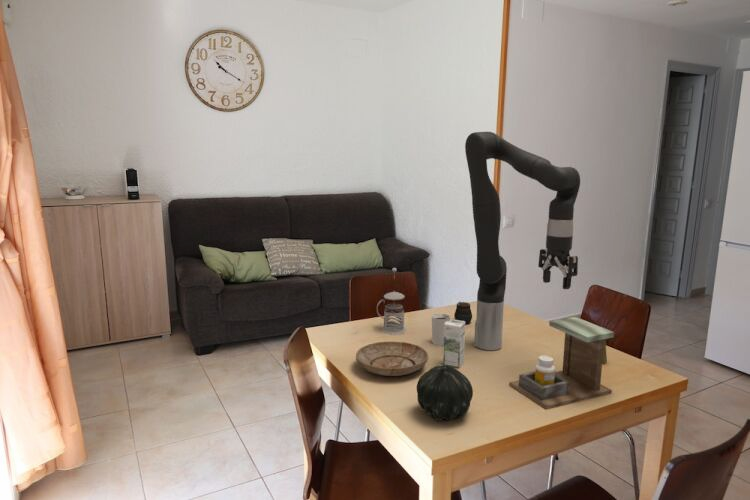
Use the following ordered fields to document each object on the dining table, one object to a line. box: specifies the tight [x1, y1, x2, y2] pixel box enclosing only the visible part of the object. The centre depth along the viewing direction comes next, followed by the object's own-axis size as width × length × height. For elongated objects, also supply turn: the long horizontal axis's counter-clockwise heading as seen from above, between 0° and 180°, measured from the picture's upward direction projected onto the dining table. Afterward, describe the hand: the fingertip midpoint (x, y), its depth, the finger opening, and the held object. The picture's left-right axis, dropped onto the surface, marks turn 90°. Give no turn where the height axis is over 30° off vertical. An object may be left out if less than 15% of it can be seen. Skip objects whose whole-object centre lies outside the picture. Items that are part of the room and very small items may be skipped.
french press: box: [376, 267, 407, 336], centre depth 202 cm, size 10×12×25 cm
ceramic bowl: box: [355, 341, 429, 377], centre depth 169 cm, size 23×24×5 cm
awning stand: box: [508, 316, 615, 410], centre depth 153 cm, size 24×16×18 cm, turn 113°
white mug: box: [431, 313, 451, 347], centre depth 190 cm, size 7×7×10 cm
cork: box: [602, 339, 608, 365], centre depth 174 cm, size 6×6×11 cm
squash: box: [416, 365, 474, 421], centre depth 139 cm, size 14×15×15 cm
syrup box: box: [442, 318, 466, 369], centre depth 171 cm, size 6×6×14 cm
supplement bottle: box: [534, 355, 556, 386], centre depth 151 cm, size 5×5×10 cm
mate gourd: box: [454, 301, 473, 325], centre depth 212 cm, size 7×8×10 cm
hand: (556, 285), depth 162 cm, fingers open, 8 cm apart
